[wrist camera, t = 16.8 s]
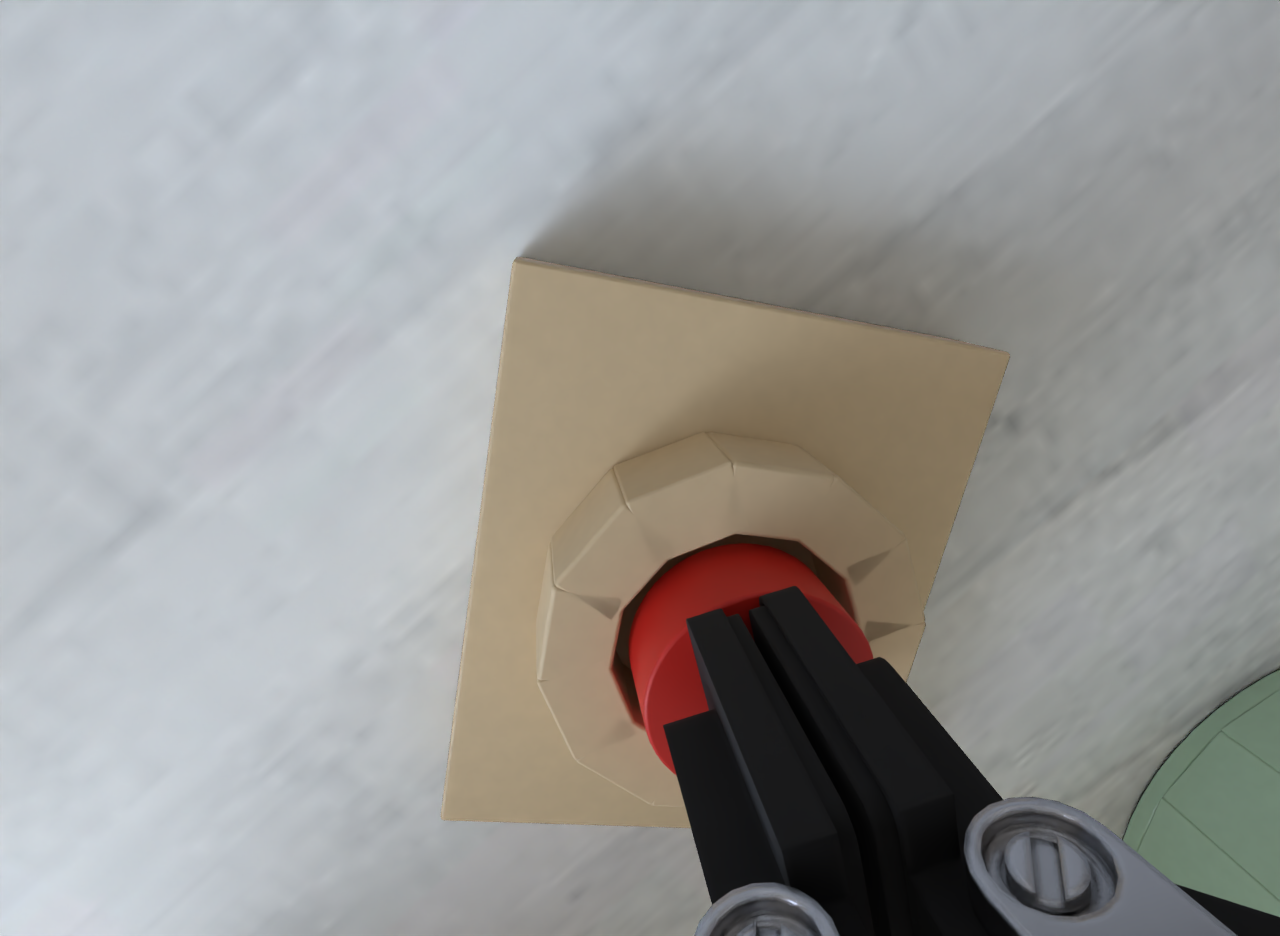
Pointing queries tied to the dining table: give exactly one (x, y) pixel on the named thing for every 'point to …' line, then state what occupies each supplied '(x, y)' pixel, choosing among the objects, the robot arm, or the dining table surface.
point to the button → (700, 588)
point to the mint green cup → (1220, 804)
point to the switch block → (682, 510)
